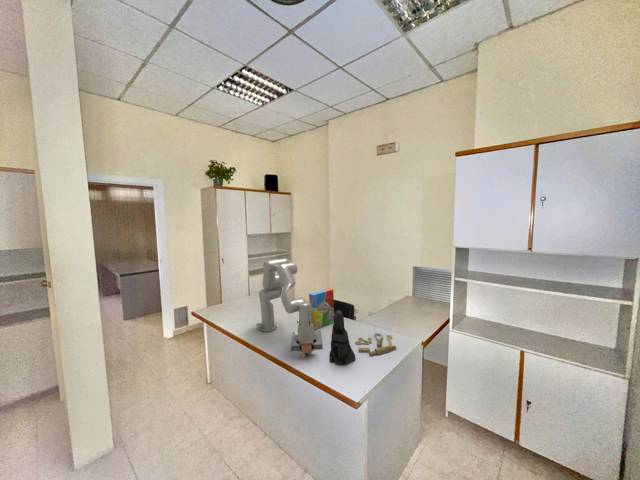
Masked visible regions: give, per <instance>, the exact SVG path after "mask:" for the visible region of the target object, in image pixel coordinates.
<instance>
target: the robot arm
mask: <svg viewBox="0 0 640 480" xmlns="http://www.w3.org/2000/svg"><path fill="white" fill-rule="evenodd" d="M262 269H263V274H262V275H263V276H262V289H260V290H259V292H258V299H259V302H260V314H261V315H260V316H261V322H260V323H258V322H257V323H256V324H255V325H256V327H257V328H259V330H260V331H261V332H264V333H266V332H273V331H275V330H276V329H277V328H278V327H277V324H276V323H275V309H274V304H273V302H271V301H272V300H276V299H279V298H280V297H281V298H280V299H281V302H282V306H283V307H284V311H285V312H286V313H287V314H295V313H297V312H298V320H296V323H297V324H298V325H297V331H298V334H297V335H296V337H295V338H294V341H296V342H297V343H298V344H299V346H300V350H299V351H300V352H301V353H302V342H308V341H311V347H312V352H313V351H314V350H315V349H314V343H315V342H316V341H317V340H318V339H319V337H318V336H317V335H316V334H315V333H314V331H315V330H314V327H313V323H312V318H311V303H310V302H309V300H306V299H305V298H303V297H300V298H295V299H292V300H290V299H289V297H288V292H289V290H291V289H292V288H293V287H294V286H295V285H296V281H295V278H294V276H293V275H296V274H297V273H298V266H297V264H296V263H295V262H294V261H292V260H291V259H288V258H285V257H284V258H275V259H269V260H265V261H264V262H263V264H262ZM276 273H277V274H276ZM297 338H298V340H297ZM314 338H315V339H314Z"/></svg>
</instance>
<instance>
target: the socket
mask: <svg viewBox="0 0 640 480" xmlns="http://www.w3.org/2000/svg"><path fill="white" fill-rule="evenodd" d="M314 333H315V334H316V335H317V336H318V337H319V339H318V340H317V341H316V342H315V343H314V349H313V350H323V348H324V347H323V337H322V330H321V329H320V330H319V329H317V330H314ZM297 334H298V330H295V331H293V332H292V338H291V344H290V345H291V346H290V347H291V348H290V349H291V351H301V350H300V346H299V344H298V343H297V342H296V341H294V338H295V337H296V335H297ZM314 339H315V338H314ZM297 340H298V338H297Z"/></svg>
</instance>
